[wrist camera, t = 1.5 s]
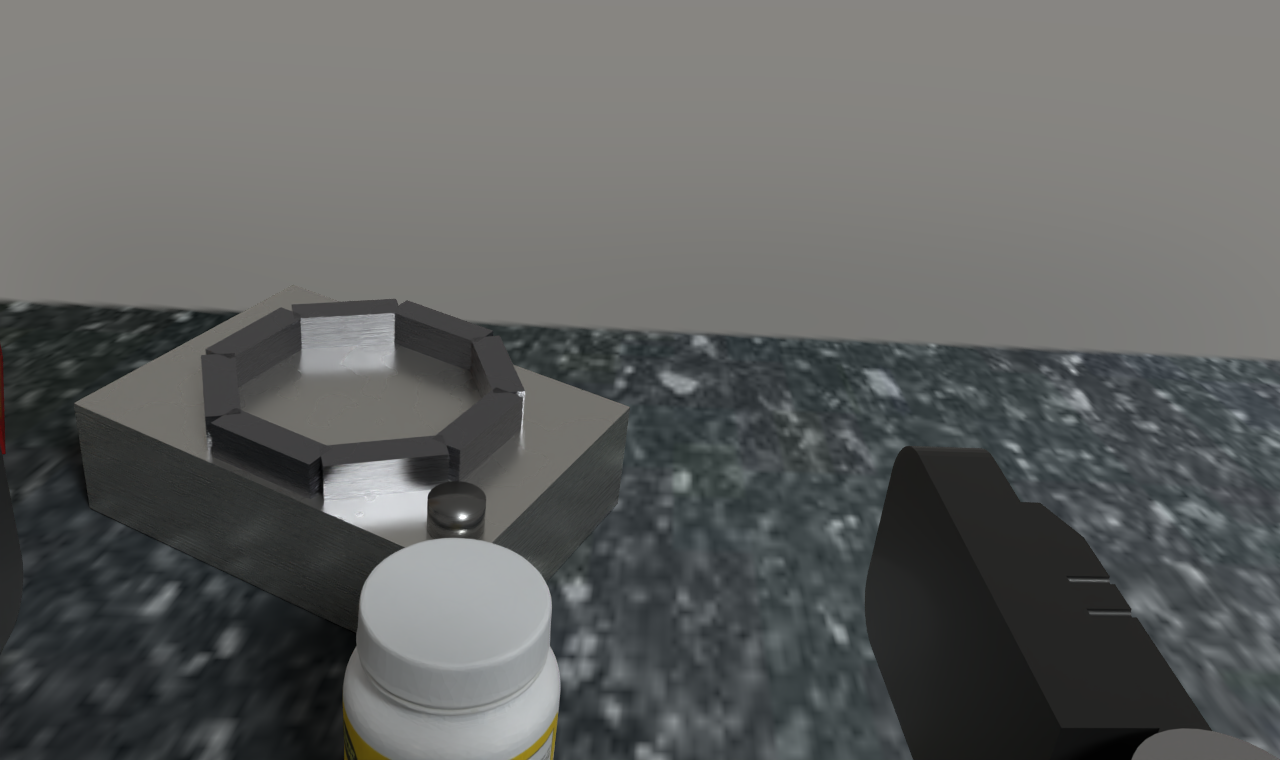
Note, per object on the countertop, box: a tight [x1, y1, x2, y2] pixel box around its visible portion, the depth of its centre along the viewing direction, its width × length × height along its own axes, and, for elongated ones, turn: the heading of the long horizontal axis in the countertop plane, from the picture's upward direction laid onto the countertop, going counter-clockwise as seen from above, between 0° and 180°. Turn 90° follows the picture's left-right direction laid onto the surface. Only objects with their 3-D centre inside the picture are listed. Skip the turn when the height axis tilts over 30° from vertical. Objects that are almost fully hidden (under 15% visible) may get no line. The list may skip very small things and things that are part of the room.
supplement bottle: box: [343, 538, 560, 760], centre depth 27 cm, size 5×5×8 cm
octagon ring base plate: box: [74, 285, 630, 633], centre depth 39 cm, size 14×10×5 cm
